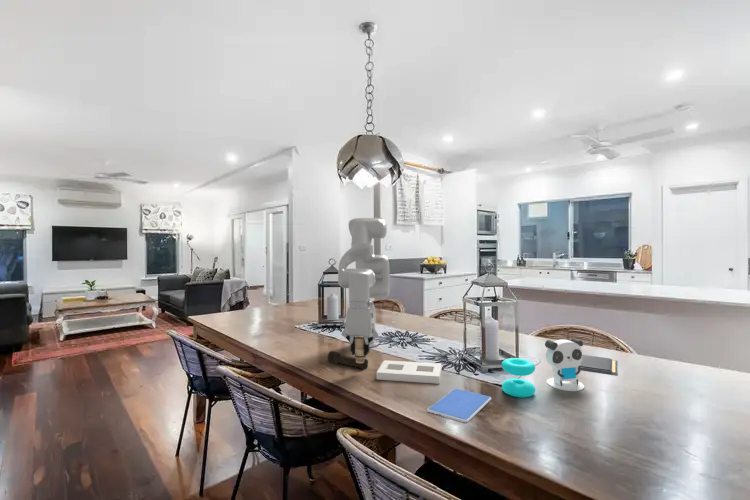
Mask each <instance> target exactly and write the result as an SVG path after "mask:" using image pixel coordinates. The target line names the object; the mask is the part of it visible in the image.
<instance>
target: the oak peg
mask: <svg viewBox="0 0 750 500" xmlns="http://www.w3.org/2000/svg"><path fill="white" fill-rule="evenodd" d="M354 342H355V354H354V357H355V359H356V363H364V362H365V359H367V358H366V357H367V355H364V345H365V339H364V337H363V336H358V337H355V338H354Z"/></svg>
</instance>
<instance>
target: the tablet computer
mask: <svg viewBox="0 0 750 500" xmlns="http://www.w3.org/2000/svg"><path fill="white" fill-rule="evenodd" d="M491 401H492V397H491V396H489V395H485V394H481V393H476V392H472V391H468V390H464V389H460V388H454V389H452V390H451V391H450V392H448V393H447V394H445V395H444V396H443V397H442V398H440V399H439V400H437V401H436V402H435V403H433V404H432V405H430V406H429V407H427V409H426V412H427V413H429V412H430V414H433V413H434V415H436V414H438V415H437V416H439V415H441V416H440V417H443V416H444V417H443V418H446V417H447V418H446V419H450V418H451V419H450V420H453V419H454V420H453V421H456V420H458V421H457V422H460V421H461V422H460V423H463V422H465V423H464V424H467V423H466V422H468V423H469V422H470V421H471V420H472V419H473V418H474V417H475V416H476V415H477V414H478V413H479V412H480V411H481V410H482V409H483V408H484V407H485V406H487V405H488V403H490V402H491Z"/></svg>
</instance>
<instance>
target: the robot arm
mask: <svg viewBox="0 0 750 500" xmlns="http://www.w3.org/2000/svg"><path fill="white" fill-rule="evenodd" d="M387 225H388V224H387V221H386V219H385V218H383V217H356V218H352V219H349V221H348V230H349V234H350V236H351V245H350V248H349V249H348V250H347V251H346V252H345V253H344V254H343V255H342V256H341V258H340V260H339V263H338V271H337V272H338V273H337V282H338V285H339V286H340V287H341V288H342V289H348V307H347V310H346V315H345V326H344V327H345V328H344V329H343V331H342V332H341V336H342V337H344V339H346V340H347V341H348V343H349V344H350V352H351V355H352V356H353V355H354V356H355V342H354V338H355V337H358V336H363V337H364V339H365V345H364V355H366V356H367V355H368V354H369V353H370V348H374V347H377V346H379V344H380V343H379V340H378V339H377V338H378V337H379V333H378V332H377V330H376V306H375V304H374V301H371V299H385V298H388V297H389V295H390V293H391V292H390V291H391V282H390V281H391V280H390V278H391V277H390V270H391V269H390V260H389V257H388V256H386V255H385V254H375V253H374V244H373V241H372V240H373V239H375V240H376V239H378V240H379V239H384V238H385V237H386V236H387V231H388V230H387V227H388V226H387ZM353 263H355V268H348V267H349V265H352V264H353ZM376 276H379V277H376Z"/></svg>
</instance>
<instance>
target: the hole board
mask: <svg viewBox="0 0 750 500" xmlns="http://www.w3.org/2000/svg"><path fill="white" fill-rule="evenodd" d="M441 377H442V363H441V362H440V363H439V362H438V363H437V362H436V363H435V362H419V361H418V362H417V361H402V360H383V361H382V363H381V364H380V366H379V367H378V369H377V371H376V380H380V381H381V380H382V381H392V382H393V381H394V382H395V381H396V382H410V383H423V384H424V383H425V384H437V385H438V384H440V382H441Z"/></svg>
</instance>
